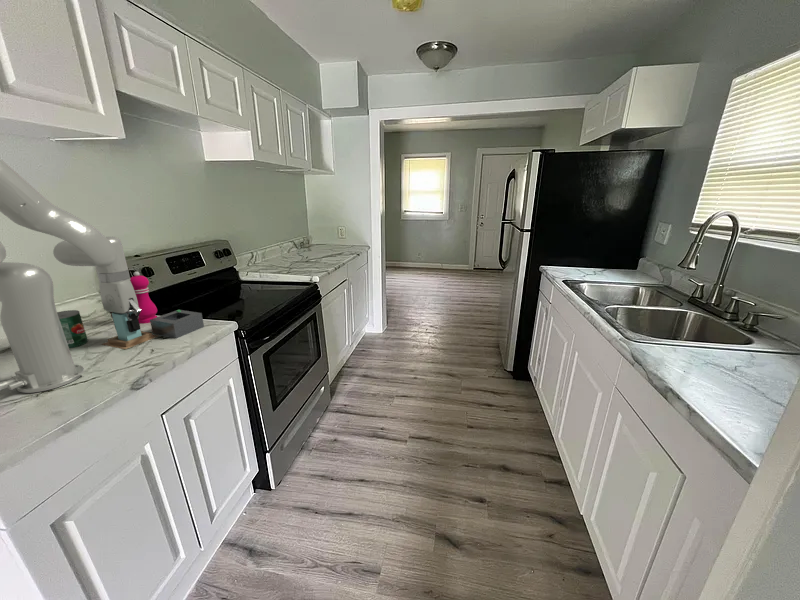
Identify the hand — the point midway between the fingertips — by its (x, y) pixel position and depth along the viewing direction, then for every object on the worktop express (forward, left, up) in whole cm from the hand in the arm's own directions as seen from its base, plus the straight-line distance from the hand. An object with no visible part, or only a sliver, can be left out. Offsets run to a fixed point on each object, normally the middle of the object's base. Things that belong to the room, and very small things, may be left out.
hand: (128, 328), depth 108 cm
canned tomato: (-9, +14, -5) cm, 17 cm away
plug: (0, 0, -4) cm, 4 cm away
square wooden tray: (0, 0, -5) cm, 5 cm away
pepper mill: (+14, +12, -5) cm, 20 cm away
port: (+11, -8, -5) cm, 14 cm away
